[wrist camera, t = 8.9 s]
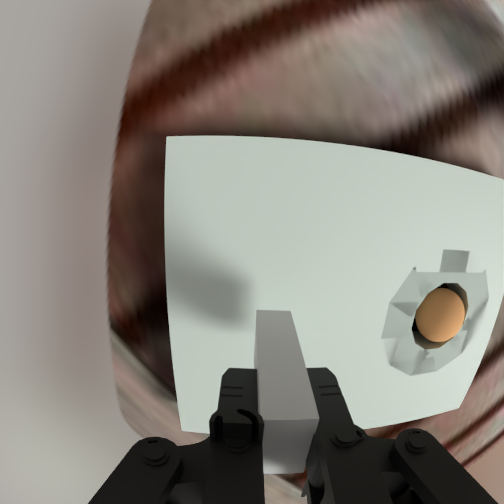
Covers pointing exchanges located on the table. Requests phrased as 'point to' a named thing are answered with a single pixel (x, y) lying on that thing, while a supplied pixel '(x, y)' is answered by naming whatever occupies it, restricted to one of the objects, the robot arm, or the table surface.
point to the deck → (328, 267)
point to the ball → (440, 315)
